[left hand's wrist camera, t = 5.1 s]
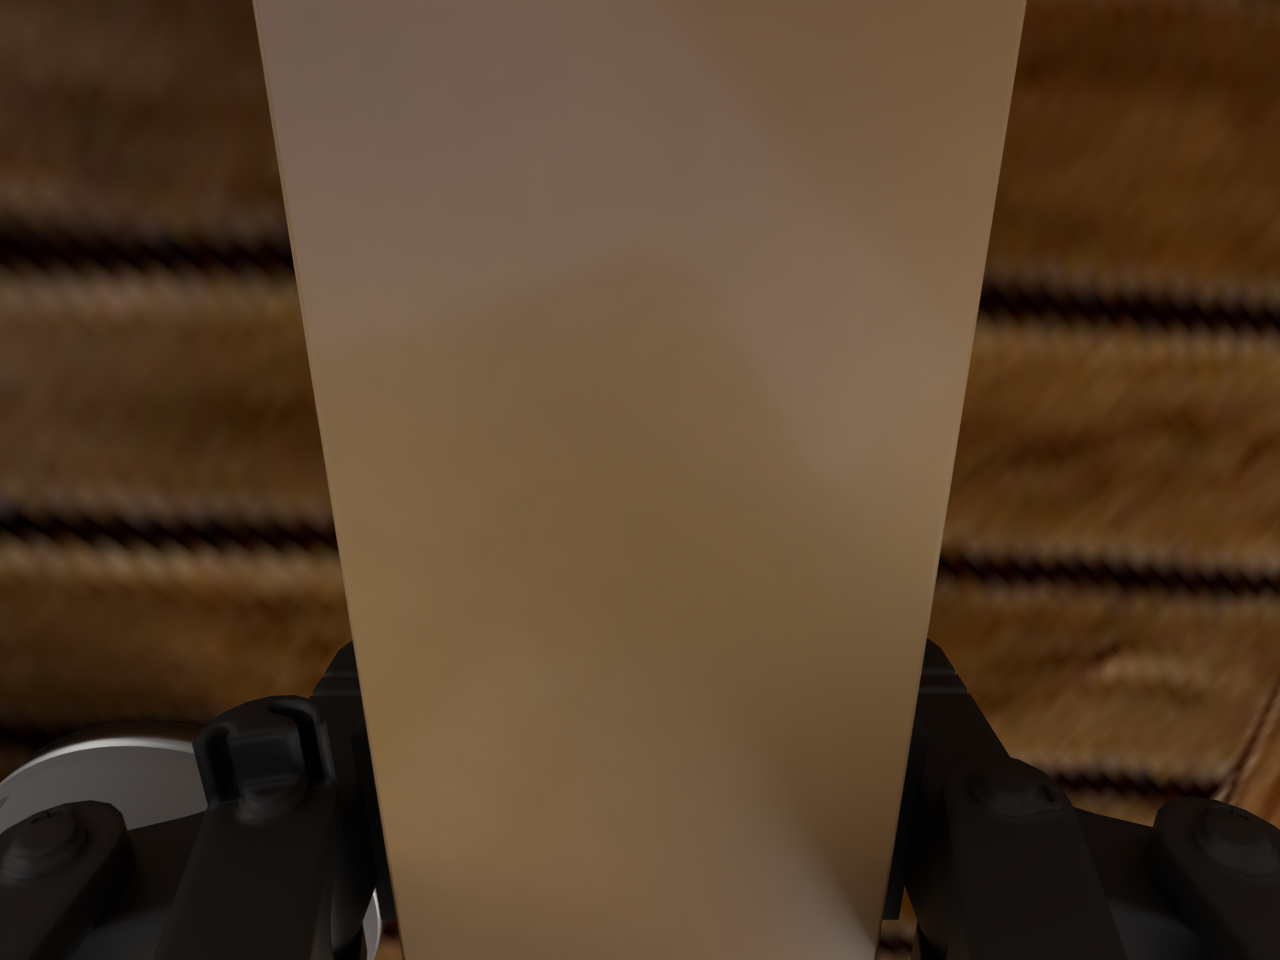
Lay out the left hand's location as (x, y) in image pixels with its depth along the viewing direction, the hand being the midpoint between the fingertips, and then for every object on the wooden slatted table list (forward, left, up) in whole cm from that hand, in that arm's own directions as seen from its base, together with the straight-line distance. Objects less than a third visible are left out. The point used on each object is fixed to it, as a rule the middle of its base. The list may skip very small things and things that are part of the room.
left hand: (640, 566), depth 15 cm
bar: (0, +8, -1) cm, 8 cm away
